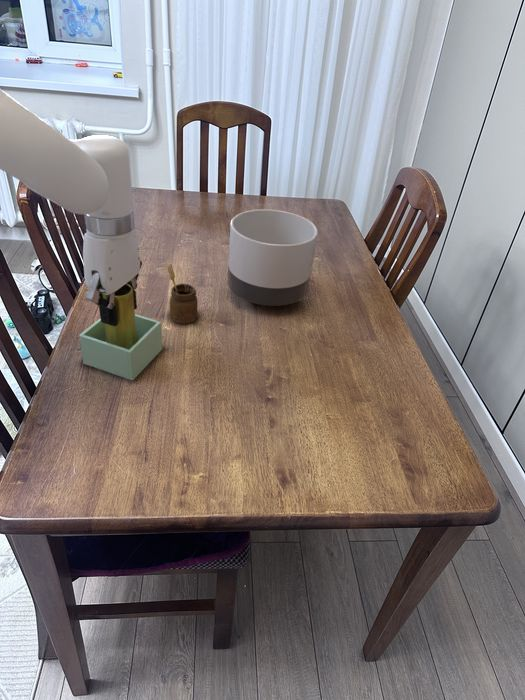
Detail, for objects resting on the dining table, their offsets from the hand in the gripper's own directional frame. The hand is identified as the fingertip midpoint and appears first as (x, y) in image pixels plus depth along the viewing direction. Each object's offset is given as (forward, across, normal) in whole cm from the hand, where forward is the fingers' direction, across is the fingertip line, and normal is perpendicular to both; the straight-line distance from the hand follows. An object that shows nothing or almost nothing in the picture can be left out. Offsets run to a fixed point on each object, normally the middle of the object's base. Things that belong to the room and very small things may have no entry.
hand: (119, 314), depth 88 cm
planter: (+10, -36, +16) cm, 40 cm away
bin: (+10, 0, 0) cm, 10 cm away
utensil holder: (+10, -18, +4) cm, 20 cm away
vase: (+9, 0, 0) cm, 9 cm away
